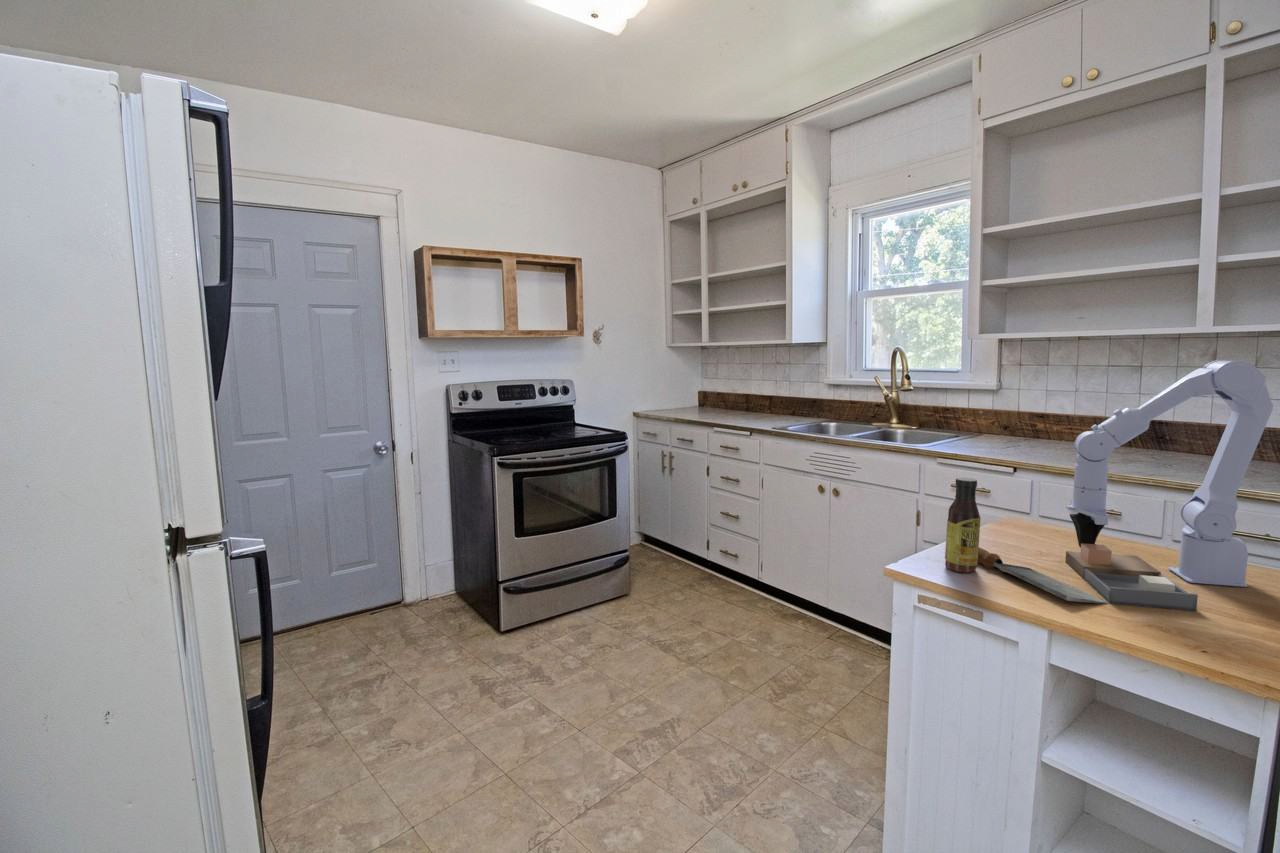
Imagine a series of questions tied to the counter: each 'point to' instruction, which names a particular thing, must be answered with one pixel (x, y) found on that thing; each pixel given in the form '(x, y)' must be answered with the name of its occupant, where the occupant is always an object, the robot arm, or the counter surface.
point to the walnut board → (1112, 565)
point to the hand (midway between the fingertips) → (1085, 548)
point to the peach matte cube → (1095, 554)
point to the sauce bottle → (963, 528)
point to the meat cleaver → (1036, 578)
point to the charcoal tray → (1138, 592)
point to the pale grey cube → (1155, 583)
